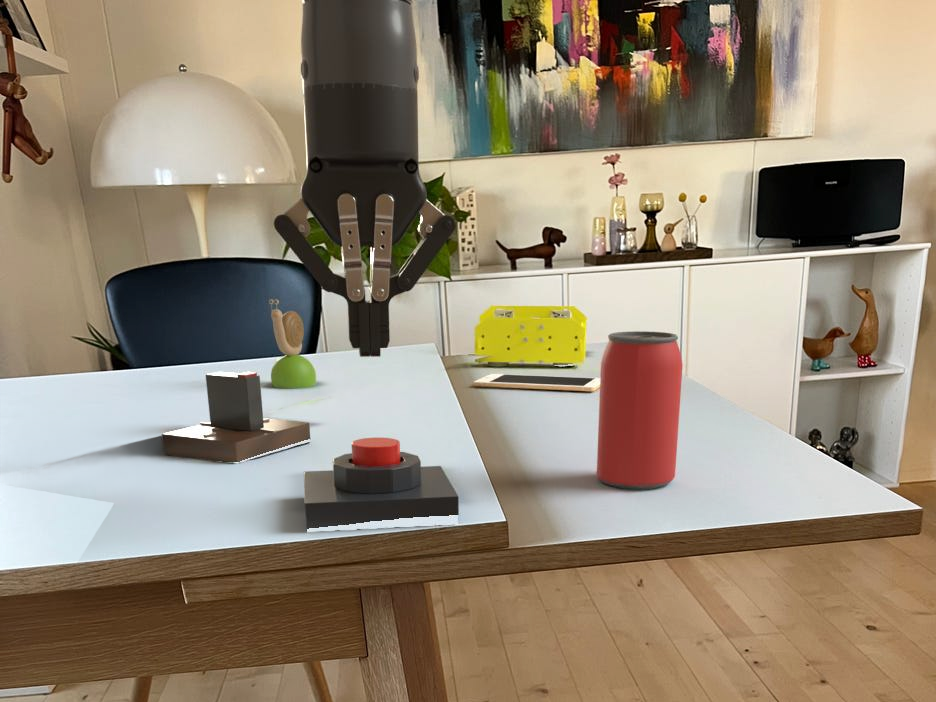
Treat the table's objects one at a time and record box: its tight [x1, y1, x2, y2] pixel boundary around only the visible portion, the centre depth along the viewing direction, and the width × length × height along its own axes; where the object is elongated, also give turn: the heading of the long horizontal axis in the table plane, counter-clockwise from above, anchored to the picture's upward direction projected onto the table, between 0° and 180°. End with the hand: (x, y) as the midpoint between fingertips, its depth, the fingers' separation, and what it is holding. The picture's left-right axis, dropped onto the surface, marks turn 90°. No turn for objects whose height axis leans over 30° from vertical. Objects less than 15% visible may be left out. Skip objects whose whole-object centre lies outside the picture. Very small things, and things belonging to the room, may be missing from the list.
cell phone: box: [473, 373, 600, 392], centre depth 137 cm, size 8×16×1 cm, turn 72°
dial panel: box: [161, 417, 311, 463], centre depth 101 cm, size 11×9×2 cm
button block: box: [303, 451, 460, 530], centre depth 79 cm, size 11×10×4 cm
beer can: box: [596, 330, 684, 490], centre depth 86 cm, size 7×7×12 cm
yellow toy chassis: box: [474, 305, 588, 367], centre depth 154 cm, size 16×6×8 cm, turn 82°
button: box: [351, 437, 401, 466], centre depth 78 cm, size 4×4×2 cm
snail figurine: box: [268, 298, 317, 390], centre depth 125 cm, size 5×6×12 cm
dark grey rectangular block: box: [205, 371, 264, 431], centre depth 100 cm, size 5×2×5 cm, turn 61°
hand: (369, 355), depth 75 cm, fingers closed
